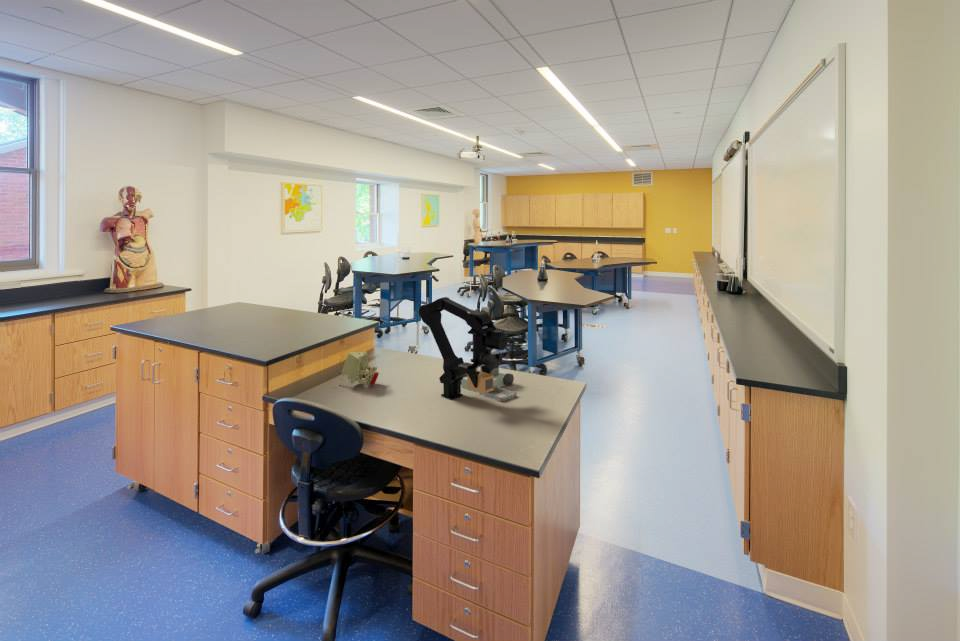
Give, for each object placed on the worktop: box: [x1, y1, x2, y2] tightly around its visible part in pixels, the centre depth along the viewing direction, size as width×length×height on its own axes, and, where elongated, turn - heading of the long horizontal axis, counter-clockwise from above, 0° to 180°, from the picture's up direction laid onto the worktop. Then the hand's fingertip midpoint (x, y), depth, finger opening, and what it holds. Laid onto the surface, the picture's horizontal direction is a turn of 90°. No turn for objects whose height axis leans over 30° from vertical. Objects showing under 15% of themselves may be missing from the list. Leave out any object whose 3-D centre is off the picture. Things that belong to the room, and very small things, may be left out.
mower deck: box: [460, 366, 515, 393], centre depth 208 cm, size 18×15×10 cm
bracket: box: [478, 386, 518, 403], centre depth 197 cm, size 9×12×2 cm
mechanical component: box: [338, 350, 380, 389], centre depth 209 cm, size 8×17×20 cm, turn 89°
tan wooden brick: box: [467, 370, 495, 393], centre depth 187 cm, size 5×9×6 cm, turn 45°
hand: (480, 385), depth 187 cm, fingers closed on tan wooden brick, 5 cm apart
